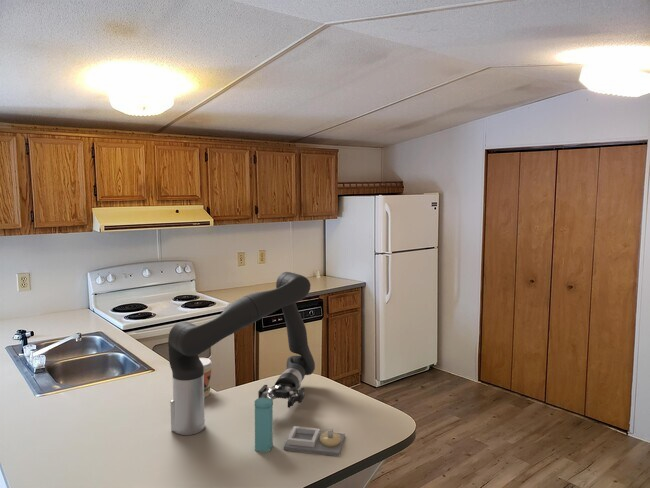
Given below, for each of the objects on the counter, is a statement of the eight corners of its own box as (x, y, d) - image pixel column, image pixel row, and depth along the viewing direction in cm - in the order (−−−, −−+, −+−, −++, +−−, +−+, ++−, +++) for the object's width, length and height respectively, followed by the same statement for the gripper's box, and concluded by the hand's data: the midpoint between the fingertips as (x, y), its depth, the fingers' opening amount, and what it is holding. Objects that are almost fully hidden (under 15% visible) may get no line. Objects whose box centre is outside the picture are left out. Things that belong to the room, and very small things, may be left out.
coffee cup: (193, 402, 173) (192, 368, 171) (181, 393, 180) (180, 361, 178) (217, 394, 179) (216, 362, 177) (204, 386, 186) (204, 355, 184)
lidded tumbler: (252, 451, 142) (252, 404, 140) (258, 442, 147) (258, 396, 145) (269, 453, 141) (269, 406, 139) (275, 444, 146) (275, 398, 144)
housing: (283, 449, 142) (284, 435, 142) (293, 431, 153) (293, 417, 153) (339, 456, 140) (339, 441, 139) (345, 436, 150) (345, 422, 150)
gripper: (268, 370, 170) (253, 390, 154) (309, 373, 167) (297, 394, 152) (268, 391, 171) (253, 413, 155) (309, 395, 168) (297, 417, 153)
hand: (275, 403), depth 154 cm, fingers open, 8 cm apart
